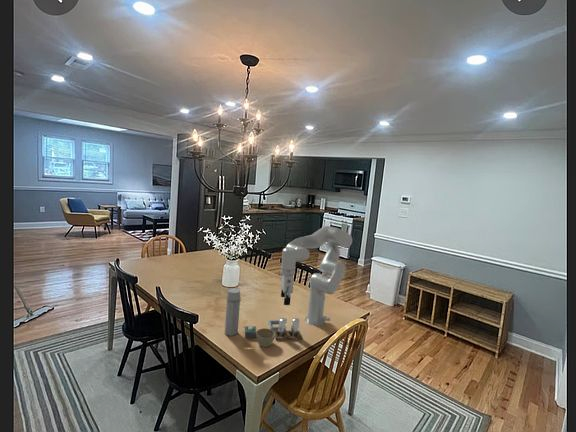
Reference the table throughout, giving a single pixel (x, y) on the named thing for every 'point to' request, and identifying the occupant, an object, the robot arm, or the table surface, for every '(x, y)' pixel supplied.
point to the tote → (273, 322)
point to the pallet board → (288, 336)
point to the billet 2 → (294, 327)
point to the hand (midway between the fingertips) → (285, 300)
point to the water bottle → (232, 311)
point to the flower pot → (265, 337)
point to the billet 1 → (282, 327)
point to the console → (250, 332)
